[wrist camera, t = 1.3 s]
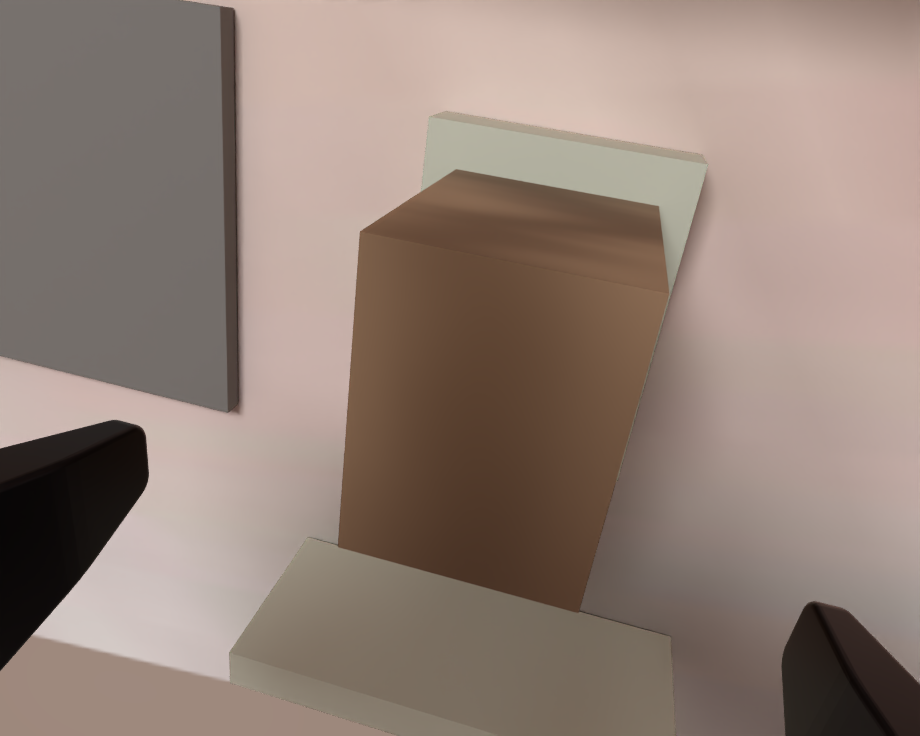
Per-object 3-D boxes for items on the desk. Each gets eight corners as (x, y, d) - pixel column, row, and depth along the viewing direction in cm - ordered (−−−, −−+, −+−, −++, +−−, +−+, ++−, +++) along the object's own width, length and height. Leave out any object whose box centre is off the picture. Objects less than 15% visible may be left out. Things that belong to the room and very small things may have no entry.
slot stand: (1000, -244, 12) (1211, -415, 8) (660, 663, 22) (666, 819, 17) (345, -295, 14) (205, -460, 9) (306, 564, 24) (229, 683, 19)
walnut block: (658, 206, 15) (669, 293, 9) (596, 441, 17) (578, 613, 12) (455, 169, 15) (359, 231, 10) (425, 401, 18) (337, 546, 13)
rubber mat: (233, 8, 17) (220, 6, 16) (238, 403, 21) (227, 412, 21) (-148, -51, 18) (-172, -54, 18) (-64, 329, 23) (-80, 335, 23)
